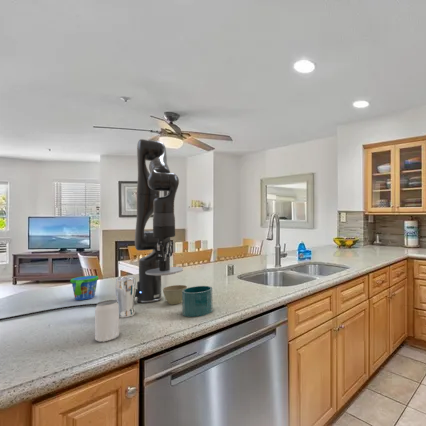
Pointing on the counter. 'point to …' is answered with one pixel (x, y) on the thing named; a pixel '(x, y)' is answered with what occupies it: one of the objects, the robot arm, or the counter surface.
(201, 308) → the canister
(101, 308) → the can
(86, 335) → the counter surface
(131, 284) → the beer glass
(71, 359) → the counter surface
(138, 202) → the robot arm
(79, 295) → the blue green tapered container
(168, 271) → the lid
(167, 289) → the flower pot
